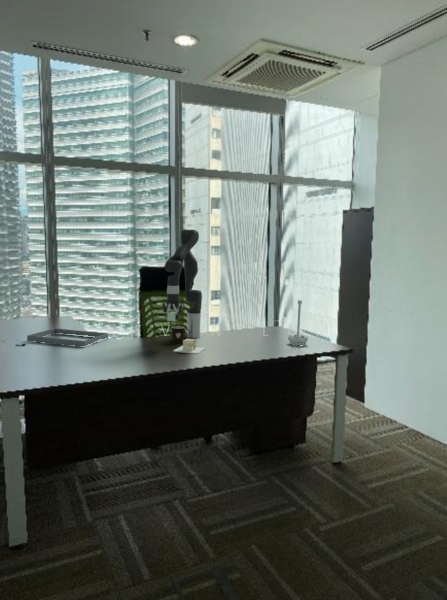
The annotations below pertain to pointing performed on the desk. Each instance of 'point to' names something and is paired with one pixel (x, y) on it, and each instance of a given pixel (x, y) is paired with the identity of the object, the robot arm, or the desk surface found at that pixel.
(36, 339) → the document tray
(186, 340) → the maple block
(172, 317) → the sage block
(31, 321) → the desk surface
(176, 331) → the coffee mug
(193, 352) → the desk pad
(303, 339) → the flag stand
